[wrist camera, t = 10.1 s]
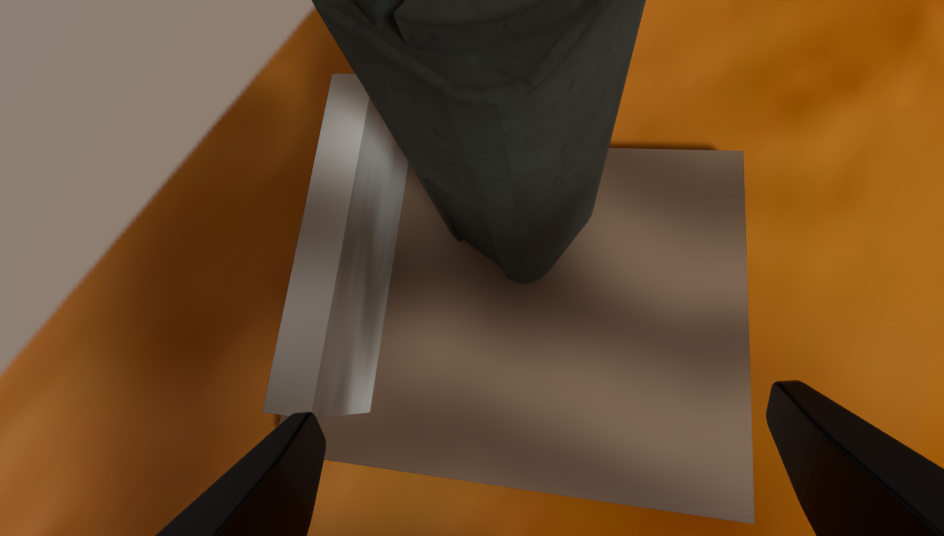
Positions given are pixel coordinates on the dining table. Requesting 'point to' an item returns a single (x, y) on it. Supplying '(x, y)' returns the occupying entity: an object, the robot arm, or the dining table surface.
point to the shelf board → (525, 331)
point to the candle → (497, 109)
